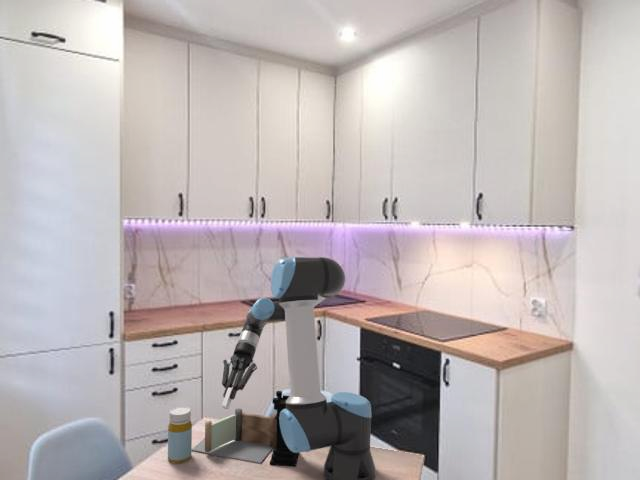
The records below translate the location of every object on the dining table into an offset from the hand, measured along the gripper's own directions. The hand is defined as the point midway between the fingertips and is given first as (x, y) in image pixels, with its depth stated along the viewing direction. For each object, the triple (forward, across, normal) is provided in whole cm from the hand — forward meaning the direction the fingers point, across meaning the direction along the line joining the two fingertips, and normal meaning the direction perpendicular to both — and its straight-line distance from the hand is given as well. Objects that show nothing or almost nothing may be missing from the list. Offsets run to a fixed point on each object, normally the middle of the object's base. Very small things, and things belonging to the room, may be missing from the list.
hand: (225, 407), depth 151 cm
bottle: (+19, +7, +4) cm, 21 cm away
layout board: (+10, -6, -5) cm, 13 cm away
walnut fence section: (+7, -12, -7) cm, 15 cm away
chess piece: (+12, -24, -3) cm, 27 cm away
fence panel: (+11, -2, -1) cm, 12 cm away
